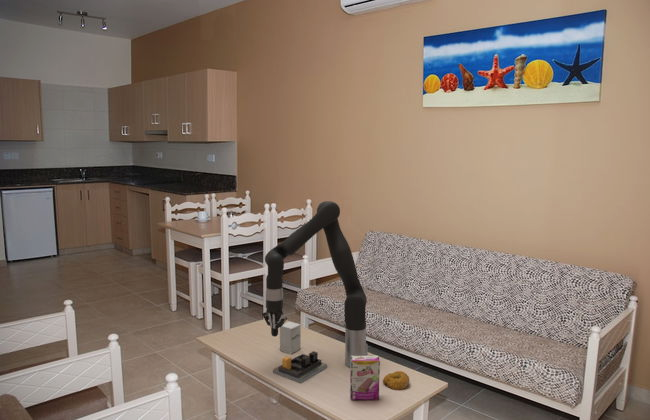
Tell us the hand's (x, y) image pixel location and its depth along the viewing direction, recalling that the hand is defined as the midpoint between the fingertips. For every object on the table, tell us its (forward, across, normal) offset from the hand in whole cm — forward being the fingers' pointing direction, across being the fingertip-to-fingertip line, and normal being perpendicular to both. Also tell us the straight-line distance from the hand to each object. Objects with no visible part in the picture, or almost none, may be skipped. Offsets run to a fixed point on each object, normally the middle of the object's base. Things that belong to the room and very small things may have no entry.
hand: (274, 335), depth 216 cm
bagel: (+15, -50, -19) cm, 55 cm away
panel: (+15, -10, -6) cm, 19 cm away
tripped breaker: (+14, -7, 0) cm, 15 cm away
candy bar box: (+15, -45, -2) cm, 48 cm away
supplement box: (+16, +8, -20) cm, 26 cm away
